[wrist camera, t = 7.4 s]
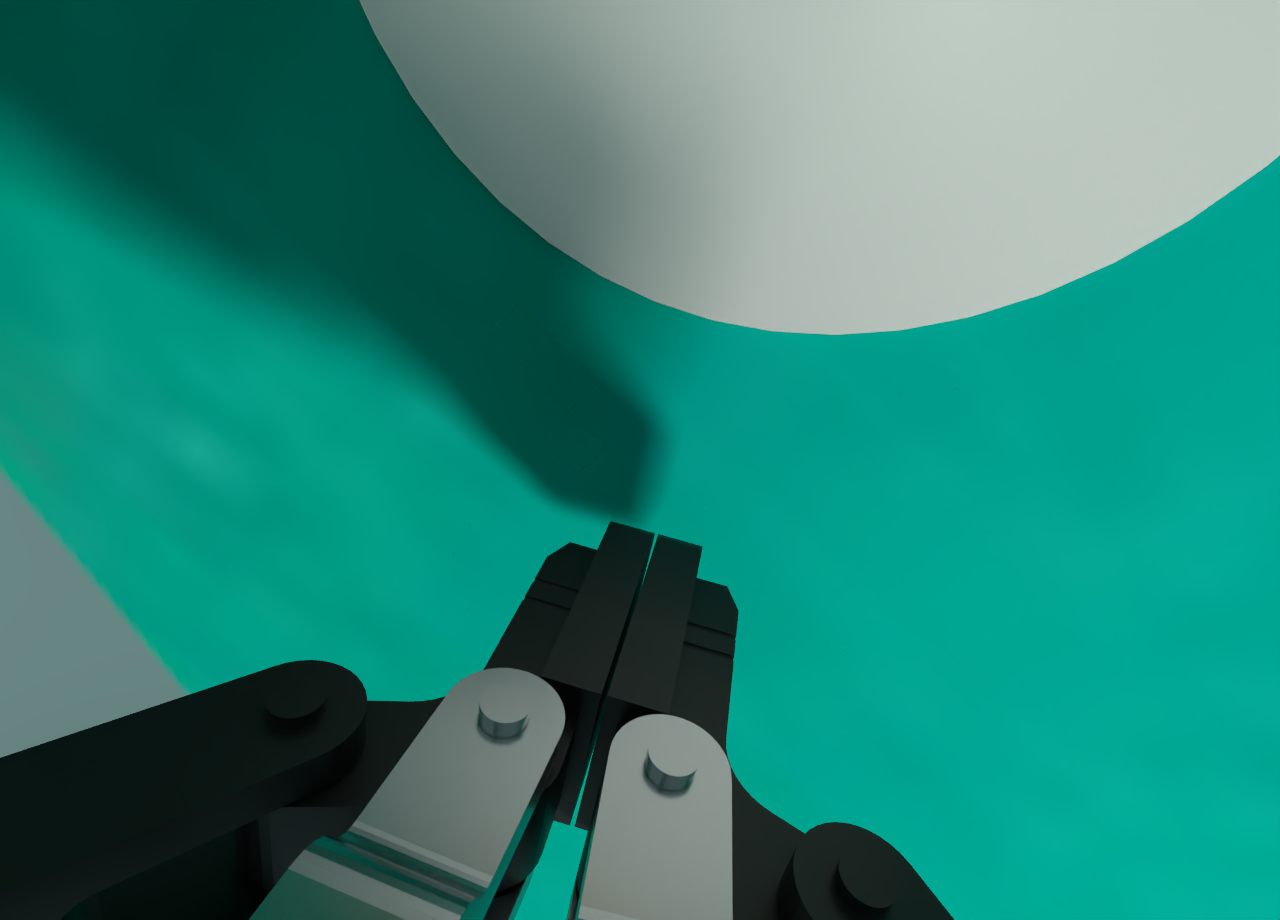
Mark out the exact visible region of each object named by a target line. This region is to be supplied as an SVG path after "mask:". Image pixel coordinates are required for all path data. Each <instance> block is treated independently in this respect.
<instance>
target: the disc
mask: <svg viewBox="0 0 1280 920" xmlns="http://www.w3.org/2000/svg"><path fill="white" fill-rule="evenodd" d="M359 1H360V3H361V5H362V8H363V10H364V12H365V14H366V16H367V18H368V20H369V23H370V25H371V27H372V29H373V31H374V33H375V35H376V37H377V39H378V40H379V42H380V44H381V45H382V47H383V49H384V51H385V52H386V54H387V56H388V57H389V59H390V61H391V62H392V64H393V66H394V67H395V69H396V71H397V72H398V74H399V76H400V78H401V79H402V81H403V83H404V84H405V86H406V88H407V89H408V91H409V93H410V94H411V96H412V98H413V99H414V101H415V102H416V103H417V105H418V106H419V107H420V109H421V110H422V111H423V113H424V114H425V115H426V117H427V118H428V119H429V121H430V122H431V123H432V125H433V126H434V127H435V129H436V130H437V131H438V133H439V134H440V135H441V137H442V138H443V139H444V141H445V142H446V143H447V145H448V146H449V147H450V149H451V150H452V151H453V153H454V154H455V155H456V156H457V157H458V158H459V159H460V160H461V161H462V162H463V163H464V165H465V166H466V167H467V168H468V169H469V170H470V171H471V172H472V173H473V174H474V175H475V176H476V177H477V178H478V179H479V180H480V181H481V183H482V184H483V185H484V186H485V187H486V188H487V189H488V190H489V191H490V192H491V193H492V194H493V195H494V196H495V197H496V198H497V199H498V201H499V202H500V203H502V204H503V205H504V206H505V207H506V208H508V209H509V210H510V211H511V212H512V213H514V214H515V215H516V216H517V217H518V218H520V219H521V220H522V221H523V222H524V223H526V224H527V225H528V226H529V227H530V228H532V229H533V230H534V231H535V232H536V233H538V234H539V235H540V236H541V237H542V238H544V239H545V240H546V241H547V242H548V243H550V244H552V245H553V246H555V247H556V248H558V249H559V250H561V251H562V252H564V253H566V254H567V255H569V256H570V257H572V258H573V259H575V260H576V261H578V262H580V263H581V264H583V265H584V266H586V267H587V268H589V269H591V270H592V271H594V272H595V273H597V274H598V275H600V276H602V277H604V278H606V279H608V280H610V281H612V282H615V283H617V284H619V285H621V286H623V287H625V288H627V289H629V290H631V291H634V292H636V293H638V294H640V295H642V296H644V297H646V298H648V299H650V300H653V301H655V302H658V303H661V304H664V305H667V306H670V307H673V308H676V309H679V310H682V311H685V312H689V313H692V314H695V315H698V316H701V317H704V318H707V319H710V320H714V321H719V322H725V323H730V324H736V325H741V326H746V327H752V328H757V329H763V330H768V331H776V332H794V333H812V334H831V335H839V334H854V333H868V332H883V331H897V330H905V329H910V328H915V327H921V326H926V325H931V324H936V323H941V322H947V321H952V320H957V319H962V318H968V317H972V316H975V315H978V314H981V313H984V312H988V311H991V310H994V309H997V308H1000V307H1004V306H1007V305H1010V304H1013V303H1016V302H1020V301H1023V300H1026V299H1029V298H1032V297H1036V296H1039V295H1041V294H1044V293H1046V292H1048V291H1051V290H1053V289H1055V288H1058V287H1060V286H1062V285H1064V284H1067V283H1069V282H1071V281H1074V280H1076V279H1078V278H1080V277H1083V276H1085V275H1087V274H1090V273H1092V272H1094V271H1096V270H1099V269H1101V268H1103V267H1106V266H1108V265H1110V264H1113V263H1115V262H1116V261H1118V260H1120V259H1122V258H1123V257H1125V256H1127V255H1129V254H1131V253H1132V252H1134V251H1136V250H1138V249H1139V248H1141V247H1143V246H1145V245H1146V244H1148V243H1150V242H1152V241H1154V240H1155V239H1157V238H1159V237H1161V236H1162V235H1164V234H1166V233H1168V232H1170V231H1171V230H1173V229H1175V228H1177V227H1178V226H1180V225H1182V224H1184V223H1185V222H1187V221H1189V220H1190V219H1192V218H1193V217H1195V216H1196V215H1198V214H1199V213H1200V212H1202V211H1203V210H1205V209H1206V208H1208V207H1209V206H1210V205H1212V204H1213V203H1215V202H1216V201H1218V200H1219V199H1220V198H1222V197H1223V196H1225V195H1226V194H1228V193H1229V192H1230V191H1232V190H1233V189H1235V188H1236V187H1238V186H1239V185H1240V184H1242V183H1243V182H1245V181H1246V180H1248V179H1249V178H1250V177H1252V176H1253V175H1255V174H1256V173H1258V172H1259V171H1260V170H1262V169H1263V168H1265V167H1266V166H1267V165H1269V164H1270V163H1271V162H1272V161H1273V160H1274V159H1276V158H1277V157H1278V156H1279V155H1280V0H359Z"/></svg>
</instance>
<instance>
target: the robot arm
mask: <svg viewBox="0 0 1280 920" xmlns="http://www.w3.org/2000/svg"><path fill="white" fill-rule="evenodd" d="M654 534H655V533H652V532H648V531H644V530H641V529H637V528H634V527H630V526H627V525H623V524H619V523H616V522H612V521H611V522H610V523H609V525H608V528H607V530H606V532H605V534H604V537H603V539H602V541H601V543H600V545H599V548H598V550H595V549H592V548H588V547H585V546H581V545H578V544H574V543H571V542H570V543H568V544H567V545H565V546H563V547H562V548H560V549H559V550H557V551H556V552H554V553H552V554H551V555H549V556H548V557H547V558H546V560H545V562H544V563H543V565H542V567H541V569H540V570H539V572H538V574H537V576H536V578H535V581H534V582H533V583H532V585H531V586H530V588H529V590H528V592H527V594H526V595H525V599H524V600H523V601H522V602H521V604H520V606H519V608H518V610H517V611H516V613H515V615H514V617H513V619H512V620H511V622H510V624H509V626H508V627H507V629H506V631H505V633H504V635H503V636H502V638H501V640H500V642H499V643H498V645H497V647H496V649H495V651H494V652H493V654H492V656H491V658H490V659H489V661H488V663H487V665H486V667H485V668H484V670H482V671H479V672H476V673H474V674H471V675H469V676H467V677H466V678H464V679H462V680H461V681H460V682H458V683H457V684H456V685H455V686H454V687H453V688H452V689H451V690H450V691H449V692H448V694H447V695H446V696H445V697H442V698H438V699H434V700H427V701H415V702H402V701H367V696H366V690H365V688H364V686H363V684H362V682H361V681H360V680H359V678H358V677H357V676H356V675H355V674H353V673H352V672H351V671H349V670H348V669H346V668H344V667H342V666H340V665H337V664H334V663H330V662H325V661H316V660H304V661H294V662H288V663H284V664H281V665H277V666H274V667H271V668H268V669H265V670H262V671H259V672H256V673H253V674H250V675H247V676H244V677H241V678H238V679H235V680H232V681H229V682H226V683H223V684H220V685H217V686H214V687H211V688H208V689H205V690H202V691H199V692H196V693H193V694H190V695H187V696H184V697H181V698H178V699H175V700H172V701H169V702H166V703H163V704H160V705H157V706H154V707H151V708H148V709H145V710H142V711H139V712H136V713H133V714H130V715H127V716H124V717H122V718H119V719H115V720H112V721H110V722H106V723H103V724H100V725H98V726H94V727H92V728H88V729H85V730H83V731H79V732H77V733H74V734H70V735H68V736H64V737H61V738H59V739H56V740H52V741H49V742H46V743H44V744H40V745H38V746H35V747H31V748H29V749H26V750H23V751H20V752H17V753H14V754H11V755H8V756H5V757H2V758H0V920H514V918H515V916H516V914H517V911H518V909H519V907H520V904H521V902H522V900H523V897H524V895H525V892H526V890H527V888H528V885H529V883H530V880H531V877H532V874H533V869H534V868H535V867H536V865H537V864H538V862H539V859H540V857H541V855H542V852H543V849H544V846H545V843H546V840H547V837H548V834H549V831H550V829H551V826H552V823H553V820H554V821H557V822H561V823H564V824H567V825H570V823H571V820H572V816H573V813H574V810H575V807H576V804H577V800H578V797H579V794H580V791H581V787H582V784H583V781H584V778H585V775H586V771H587V768H588V765H589V762H590V759H591V755H592V752H593V755H592V759H591V763H590V768H589V772H588V776H587V780H586V784H585V788H584V792H583V796H582V800H581V804H580V808H579V812H578V816H577V820H576V824H575V827H578V828H581V829H584V830H587V831H588V833H587V837H586V841H585V845H584V849H583V852H582V856H581V860H580V864H579V868H578V872H577V876H576V879H575V883H574V887H573V891H572V895H571V899H570V904H569V909H568V914H567V919H566V920H954V919H953V917H952V916H951V915H950V914H949V912H948V911H947V910H946V909H945V907H944V906H943V905H942V904H941V902H940V901H939V900H938V899H937V897H936V896H935V895H934V894H933V892H932V891H931V890H930V889H929V887H928V886H927V885H926V884H925V882H924V881H923V880H922V879H921V877H920V876H919V875H918V874H917V872H916V871H915V870H914V869H913V867H912V866H911V865H910V864H909V862H908V861H907V860H906V859H905V858H904V857H903V856H902V855H901V854H900V853H899V852H898V851H897V850H896V849H895V848H894V847H893V846H892V845H890V844H889V843H888V842H886V841H885V840H884V839H882V838H881V837H879V836H877V835H876V834H874V833H872V832H870V831H868V830H866V829H864V828H861V827H859V826H855V825H851V824H848V823H839V822H832V823H824V824H821V825H817V826H815V827H814V828H812V829H810V830H809V831H808V832H807V833H803V832H801V831H800V830H798V829H797V828H795V827H793V826H792V825H790V824H789V823H787V822H786V821H784V820H782V819H781V818H779V817H778V816H776V815H775V814H773V813H771V812H770V811H769V810H767V809H766V808H764V807H763V806H762V805H760V804H759V803H758V802H757V801H756V800H755V799H754V798H753V797H751V796H750V794H749V793H748V792H747V791H746V790H745V789H744V788H743V786H742V785H741V783H740V782H739V781H738V779H737V778H736V776H735V774H734V772H733V770H732V768H731V766H730V763H729V760H728V757H727V751H726V734H727V724H728V713H729V703H730V693H731V682H732V672H733V662H734V661H733V658H734V652H735V641H736V640H735V637H736V631H737V621H738V609H737V607H736V605H735V603H734V600H733V598H732V596H731V594H730V592H729V589H728V587H727V586H723V585H720V584H716V583H713V582H709V581H706V580H702V579H699V578H696V577H697V572H698V567H699V562H700V557H701V552H702V546H699V545H695V544H692V543H688V542H685V541H681V540H677V539H674V538H670V537H667V536H663V535H659V534H658V537H657V540H656V543H655V546H654V550H653V553H652V556H651V559H650V562H649V565H648V569H647V572H646V575H645V571H646V567H647V563H648V559H649V555H650V551H651V547H652V543H653V539H654ZM644 575H645V578H644ZM643 579H644V581H643ZM642 583H643V584H642ZM641 587H642V588H641ZM595 742H596V743H595ZM594 746H595V747H594ZM593 749H594V751H593Z"/></svg>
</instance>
